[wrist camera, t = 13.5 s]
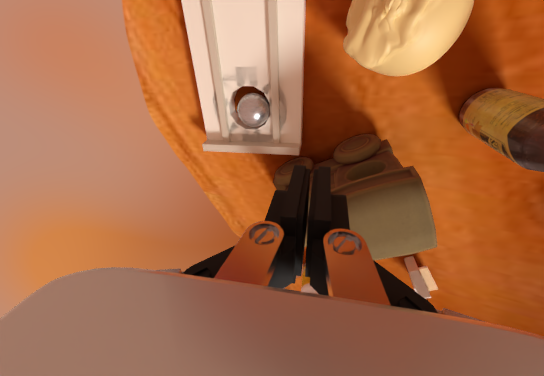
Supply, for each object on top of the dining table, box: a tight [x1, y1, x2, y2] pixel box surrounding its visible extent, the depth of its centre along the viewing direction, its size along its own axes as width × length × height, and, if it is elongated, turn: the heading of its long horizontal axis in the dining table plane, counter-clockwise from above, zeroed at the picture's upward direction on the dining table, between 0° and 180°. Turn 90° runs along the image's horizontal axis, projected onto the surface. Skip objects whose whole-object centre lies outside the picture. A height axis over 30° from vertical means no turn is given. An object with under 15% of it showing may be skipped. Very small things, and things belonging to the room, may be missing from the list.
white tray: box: [181, 0, 306, 155], centre depth 34 cm, size 24×16×4 cm, turn 2°
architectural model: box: [404, 256, 438, 301], centre depth 47 cm, size 3×7×7 cm, turn 34°
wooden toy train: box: [273, 134, 437, 260], centre depth 36 cm, size 20×11×17 cm, turn 117°
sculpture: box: [343, 0, 474, 76], centre depth 26 cm, size 12×12×11 cm
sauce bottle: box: [459, 88, 544, 172], centre depth 25 cm, size 6×6×20 cm
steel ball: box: [237, 93, 270, 127], centre depth 37 cm, size 5×5×5 cm
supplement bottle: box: [301, 263, 318, 294], centre depth 52 cm, size 5×5×10 cm
